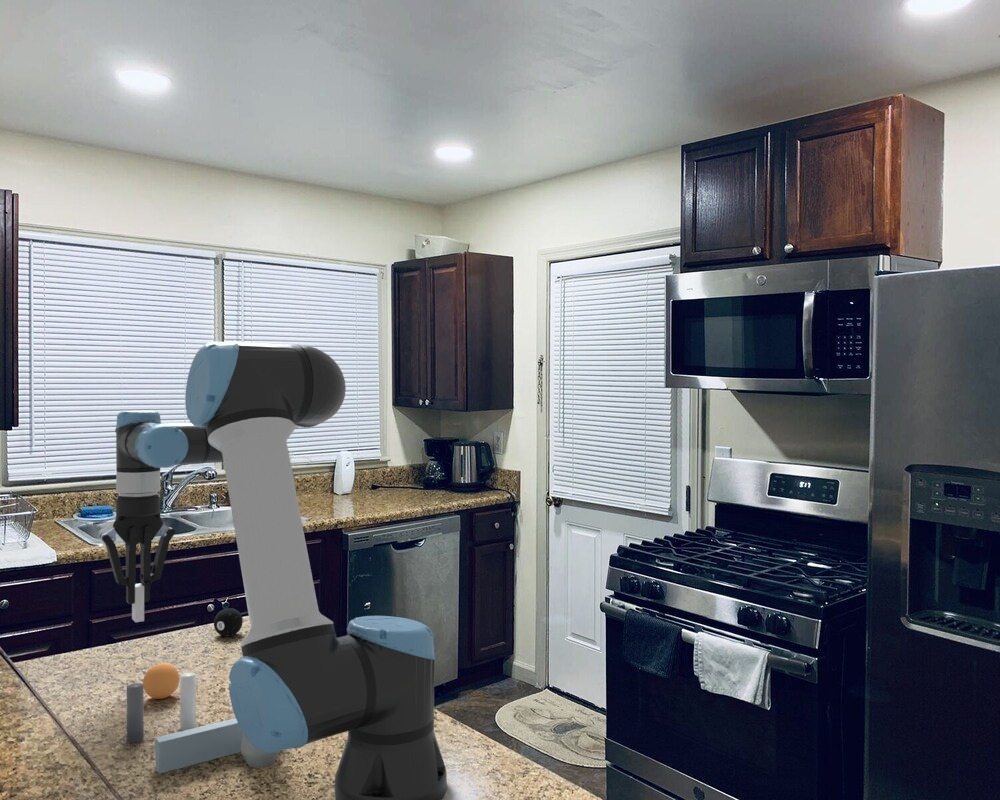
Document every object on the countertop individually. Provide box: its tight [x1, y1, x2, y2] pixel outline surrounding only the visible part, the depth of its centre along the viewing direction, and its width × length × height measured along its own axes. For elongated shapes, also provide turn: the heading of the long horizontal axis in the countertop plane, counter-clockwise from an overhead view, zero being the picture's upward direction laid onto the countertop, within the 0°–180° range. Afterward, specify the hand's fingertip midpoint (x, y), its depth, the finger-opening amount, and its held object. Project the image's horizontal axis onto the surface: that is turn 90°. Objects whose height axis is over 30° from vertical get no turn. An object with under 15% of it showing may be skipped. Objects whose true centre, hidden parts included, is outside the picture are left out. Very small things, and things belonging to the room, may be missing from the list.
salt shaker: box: [240, 734, 280, 769], centre depth 118 cm, size 6×6×13 cm
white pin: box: [179, 672, 197, 731], centre depth 130 cm, size 2×2×8 cm
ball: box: [142, 662, 180, 700], centre depth 143 cm, size 6×6×6 cm
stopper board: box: [154, 717, 243, 775], centre depth 120 cm, size 2×18×4 cm, turn 127°
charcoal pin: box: [126, 682, 145, 744], centre depth 125 cm, size 2×2×8 cm
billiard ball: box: [213, 607, 244, 637], centre depth 180 cm, size 6×6×6 cm
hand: (138, 619), depth 150 cm, fingers closed
